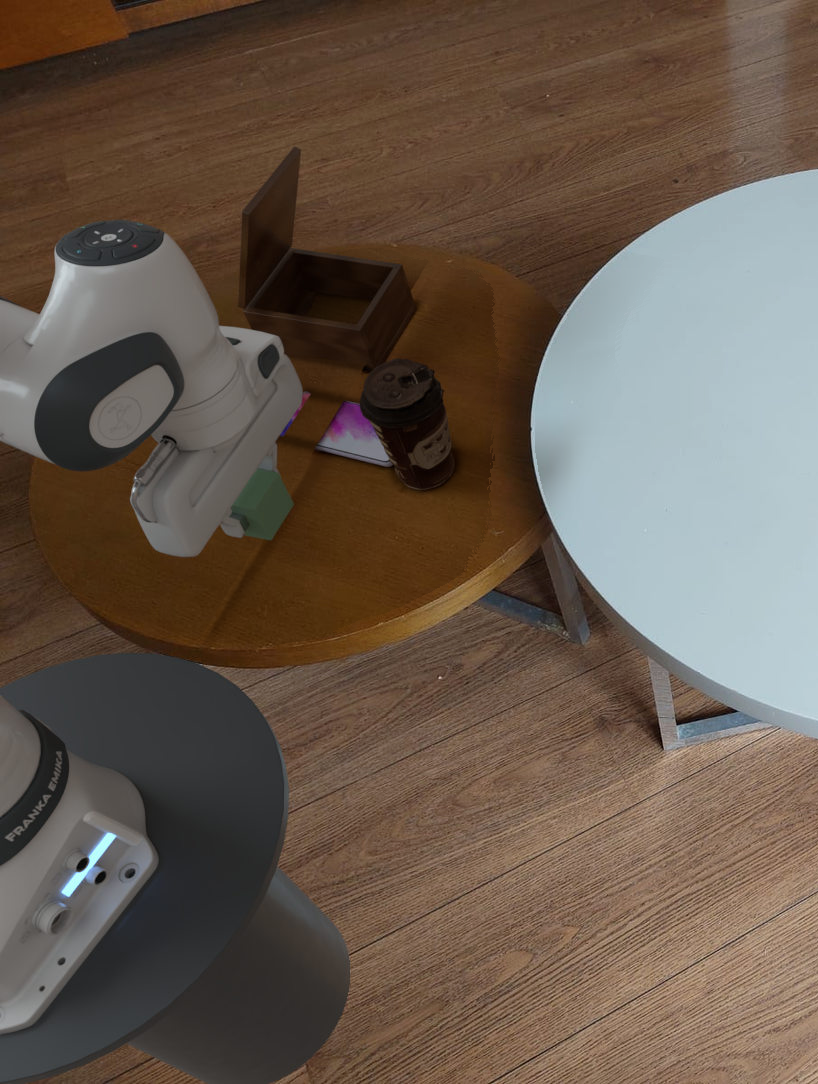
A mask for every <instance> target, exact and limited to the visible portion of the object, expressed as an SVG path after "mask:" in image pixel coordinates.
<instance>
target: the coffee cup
mask: <svg viewBox="0 0 818 1084" xmlns="http://www.w3.org/2000/svg"><path fill="white" fill-rule="evenodd" d="M435 373H436V371H435V370H433V369H432V368H430V367H428V365H427V364H424V363H419V362H417V361H414V360H411V359H408V358H394V359H391V360H388V361H386V362H383V364H382V365H380V366H378V367H376V368H375V369H374V370H373V371H371V372H369V373H368V375H367V377H365V379H364V383H363V387H362V392H361V394H360V398H359V404H360V410H361V412H362V414H363V416H364V417H365V418H366V419H368V420H369V421H370V423H371V424H372V426H373V427H374V430H375V433H376V434H377V436H378V438H379V440H380V442H381V444H382V445H383V447H384V450H385V452H386V454H387V455H388V458H389V460H390V462H391V463H392V464H393V465H392V466H394V472H395V474H396V476H397V478H398V479H399V480H400V481H401V482H402V483H403V484H404V486H407V487H408V488H411V489H414V490H418V491H423V490H430V489H434V488H436V487H438V486H440V485H442V484H443V483H445V482H446V481H447V480H448V479H449V478H450V477H451V476H452V474H453V473H454V469H455V458H454V455H453V453H452V451H451V450H452V446H453V445H452V436H451V433H450V428H449V419H448V415H447V408H446V405H445V404H444V398H443V397H444V392H445V390H444V389H443V388H442V385H441V381H439V380H438V379H437V378H435Z"/></svg>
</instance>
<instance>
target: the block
mask: <svg viewBox="0 0 818 1084" xmlns="http://www.w3.org/2000/svg"><path fill="white" fill-rule="evenodd" d="M279 474H280V472H279V473H277V472H271V471H266V470H261V469H257V470H256V471H255V473H254V474H253V475H252V477H251V478H250V480H249V481H248V483H247V484H246V486H245V487H244V489H243V490H242V492H241V493H240V495H239V496H238V498H237V499H236V501H235V502H234V503H233V505H232V506H231V510H232V512H233V513H235V514H236V513H239V514H244V515H245V517H246V519H247V522H249V524H250V525H249V527H248V528H247V530H246V532H245V533H244V535H243V536H245V537H251V538H255V539H261V540H265V541H273V539H274V537H275V535H276V534H277V532H278V531H279V529H280V528H281V526H282V524H283V523H284V521H285V519H286V518H287V516H288V515H289V513H290V512H291V510H292V508H293V507H294V505H295V503H294V501H293V499H292V497H291V495H290V493H289V491H288V489H287V486H286V485H285V483H284V481H283V479H282V476H281V474H280V475H279ZM280 476H281V477H280Z"/></svg>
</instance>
